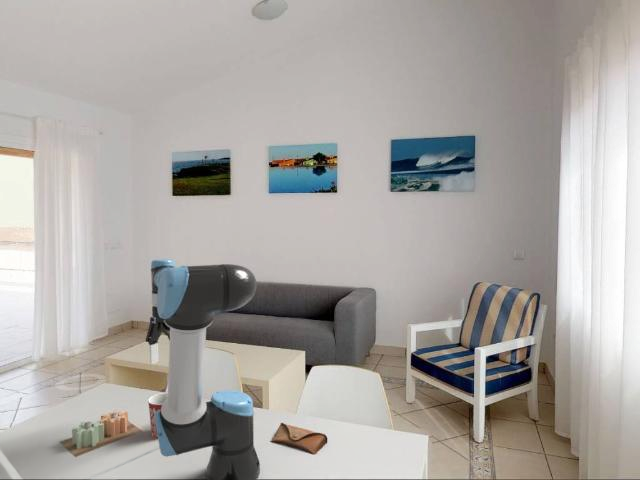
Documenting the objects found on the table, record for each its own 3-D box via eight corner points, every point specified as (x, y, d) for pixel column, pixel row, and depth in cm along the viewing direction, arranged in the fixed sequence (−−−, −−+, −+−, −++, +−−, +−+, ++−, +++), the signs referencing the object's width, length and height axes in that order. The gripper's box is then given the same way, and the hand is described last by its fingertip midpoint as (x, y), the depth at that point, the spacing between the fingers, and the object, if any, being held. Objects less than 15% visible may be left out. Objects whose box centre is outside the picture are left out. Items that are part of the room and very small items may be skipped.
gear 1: (107, 441, 141) (107, 425, 140) (80, 451, 135) (79, 435, 134) (96, 431, 147) (95, 417, 146) (69, 441, 140) (68, 426, 140)
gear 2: (133, 425, 151) (133, 411, 150) (118, 438, 143) (117, 423, 142) (110, 423, 152) (109, 409, 152) (93, 435, 144) (93, 420, 144)
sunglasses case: (267, 441, 143) (273, 420, 146) (277, 443, 149) (282, 423, 151) (316, 455, 135) (321, 432, 138) (324, 456, 141) (329, 434, 144)
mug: (166, 446, 140) (166, 405, 140) (143, 442, 143) (142, 402, 142) (188, 427, 153) (188, 390, 152) (166, 424, 155) (165, 387, 154)
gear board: (142, 435, 148) (141, 413, 147) (75, 461, 132) (74, 437, 131) (124, 422, 156) (124, 402, 156) (60, 446, 140) (59, 423, 140)
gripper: (195, 306, 143) (197, 370, 144) (153, 299, 158) (155, 357, 159) (175, 310, 137) (177, 377, 138) (134, 302, 153) (135, 362, 153)
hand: (165, 366), depth 149 cm, fingers open, 13 cm apart
